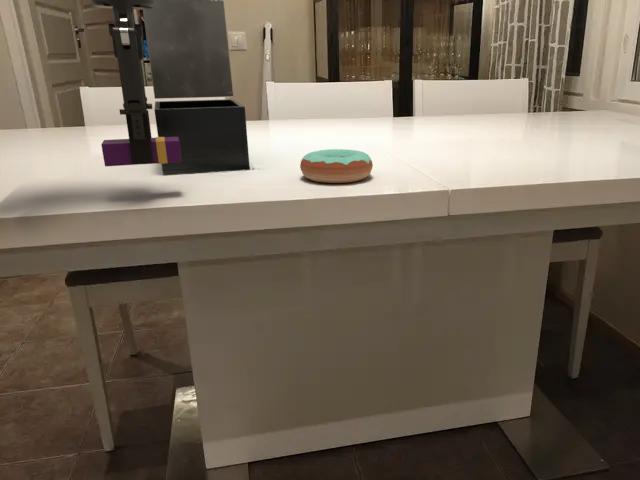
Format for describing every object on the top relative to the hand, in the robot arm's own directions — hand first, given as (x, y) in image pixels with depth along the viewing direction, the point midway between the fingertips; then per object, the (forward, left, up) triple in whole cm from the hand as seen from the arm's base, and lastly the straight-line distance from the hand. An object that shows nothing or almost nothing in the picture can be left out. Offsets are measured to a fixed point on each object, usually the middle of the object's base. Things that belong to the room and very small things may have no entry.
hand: (143, 159), depth 79 cm
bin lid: (+9, +33, +15) cm, 37 cm away
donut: (+29, +3, -6) cm, 30 cm away
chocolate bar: (0, 0, 0) cm, 0 cm away
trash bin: (+9, +23, -5) cm, 26 cm away
